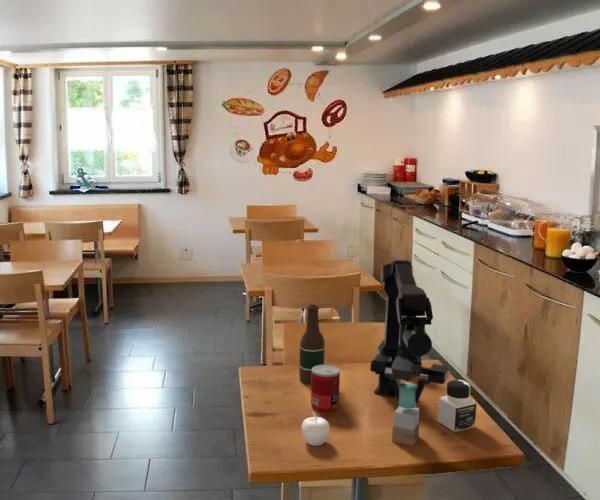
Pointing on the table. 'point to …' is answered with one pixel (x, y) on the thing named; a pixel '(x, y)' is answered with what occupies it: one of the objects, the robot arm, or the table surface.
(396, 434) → the walnut block
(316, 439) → the plain white apple
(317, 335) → the beer bottle
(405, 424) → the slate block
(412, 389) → the teal cylinder
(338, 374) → the canned food
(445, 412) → the medicine bottle
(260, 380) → the table surface
